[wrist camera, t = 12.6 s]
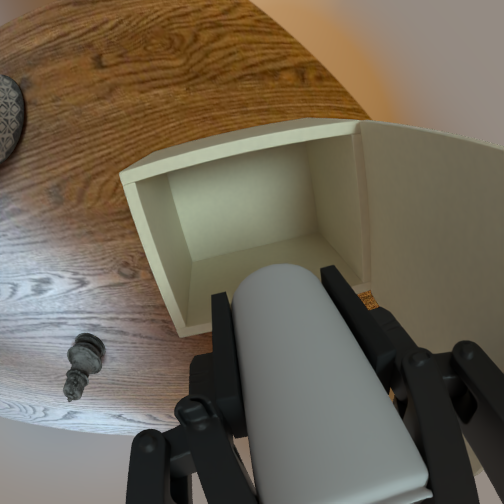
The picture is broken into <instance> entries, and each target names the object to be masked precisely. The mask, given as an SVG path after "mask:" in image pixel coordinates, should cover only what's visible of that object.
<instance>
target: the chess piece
mask: <svg viewBox="0 0 504 504" xmlns="http://www.w3.org/2000/svg"><path fill="white" fill-rule="evenodd" d="M75 343H76V344H75V345H74V346H73V347H71V348H70V349H69V350H68V352H67V357H68V360H69V361H70V363H71V364H72V367H71V369H70V370H68V371H67V373H66V374H67V380H66V383H65V385H64V388H63V392H64V394H65V396H66V397H68V402H71V401H72V400H78V399H80V398H81V396H82V393H83V390H84V387H85V386H87V385H88V383H89V380H88V377H89V374H95V373H98V372H99V371H100V370H101V368H102V362H101V357H102V356H103V355H104V353H105V346H104V344H103V342H102V341H101V340H100V339H99V338H97V337H96V336H94V335H92V334H88V333H82V334H79V335H78V336H77V337H76V340H75Z"/></svg>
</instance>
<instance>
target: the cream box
mask: <svg viewBox="0 0 504 504" xmlns="http://www.w3.org/2000/svg"><path fill="white" fill-rule="evenodd" d="M119 175H120V179H121V182H122V185H123V189H124V192H125V195H126V198H127V201H128V204H129V207H130V211H131V214H132V217H133V220H134V222H135V225H136V228H137V231H138V234H139V237H140V240H141V243H142V245H143V248H144V251H145V254H146V256H147V259H148V262H149V264H150V267H151V270H152V272H153V275H154V277H155V280H156V282H157V285H158V287H159V290H160V292H161V295H162V297H163V300H164V302H165V305H166V307H167V309H168V312H169V314H170V316H171V319H172V321H173V323H174V326H175V328H176V331H177V333H178V335H179V337H180V338H181V337H186V336H191V335H196V334H201V333H206V332H211V331H212V313H211V295H213V294H217V293H221V292H225V291H226V293H227V297H228V300H229V303H230V307H231V303H232V299H233V295H234V293H235V291H236V289H237V288H238V286H239V284H240V283H241V282H242V281H243V280H244V279H245V278H246V277H247V276H249V275H250V274H251V273H253V272H255V271H257V270H258V269H260V268H263V267H266V266H269V265H273V264H283V263H289V264H294V265H299V266H301V267H303V268H305V269H307V270H310V271H311V272H312V273H313V274H314V275H315V276H316V277H317V278H318V279H319V280H320V282H321V273H320V268H323V267H326V266H330V265H335V267H336V268H337V269H338V270H339V272H340V273H341V274H342V276H343V277H344V278H345V280H346V281H347V282H348V284H349V285H350V286H351V288H352V289H353V290H354V292H355V293H356V294H359V293H362V292H366V291H369V290H371V245H370V222H369V205H368V192H367V180H366V170H365V160H364V152H363V144H362V136H361V129H360V120H350V119H330V118H302V119H296V120H289V121H283V122H278V123H272V124H267V125H261V126H256V127H251V128H246V129H242V130H237V131H232V132H228V133H223V134H219V135H215V136H211V137H207V138H203V139H199V140H195V141H191V142H187V143H183V144H180V145H176V146H172V147H169V148H165V149H162V150H159V151H155V152H153V153H151V154H150V155H148V156H146V157H144V158H143V159H141V160H139V161H138V162H136V163H134V164H133V165H131V166H129V167H128V168H126V169H125V170H123V171H121V172H120V173H119ZM321 284H322V283H321Z"/></svg>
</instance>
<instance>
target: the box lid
mask: <svg viewBox="0 0 504 504" xmlns="http://www.w3.org/2000/svg"><path fill="white" fill-rule="evenodd" d="M360 129H361V136H362V144H363V152H364V160H365V170H366V180H367V192H368V205H369V222H370V245H371V294H372V295H373V297H374V298H375V300H376V302H377V303H378V305H379V306H380V307H383V308H385V309H386V310H388V311H390V312H391V313H392V314H393V316H394V317H395V318H396V320H397V321H398V322H399V323H400V324H401V326H402V327H403V328H404V329H405V331H406V332H407V333H408V334H409V336H410V337H411V338H412V340H413V341H414V342H415V343H416V345H417V346H418V347H421V348H425V349H427V350H429V351H430V352H431V353H433V354H436V353H444V352H451V351H452V349H453V347H454V345H455V344H456V343H458V342H459V341H463V340H469V341H472V342H475V343H476V344H477V345H479V346H480V347H481V348H482V350H483V351H484V352H485V353H486V354H487V355H488V356H489V357H490V359H491V360H492V361H493V362H494V363H495V364H496V365H497V367H498V368H499V369H500V370H501V371H502V372H503V374H504V146H501V145H497V144H494V143H490V142H486V141H482V140H478V139H474V138H470V137H466V136H462V135H457V134H453V133H448V132H443V131H438V130H433V129H427V128H421V127H415V126H409V125H403V124H396V123H389V122H380V121H373V120H363V121H360ZM462 435H463V434H462ZM463 438H464V442H465V445H466V449H467V452H468V456H469V459H470V463H471V467H472V471H473V475H474V476H476V475H477V474H479V473H481V472H482V471H483V470H484V469H483V467H482V465H481V464H480V462H479V460H478V458H477V457H476V455H475V453H474V452H473V450H472V448H471V447H470V445H469V443H468V442H467V440H466V439H465V437H464V435H463Z"/></svg>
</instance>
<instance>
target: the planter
mask: <svg viewBox="0 0 504 504" xmlns="http://www.w3.org/2000/svg"><path fill="white" fill-rule="evenodd" d="M23 120H24V103H23V97H22V94H21V91H20V89H19V87H18V85H17V84H16V82H15V81H14V80H13V79H11V78H10V77H8V76H5V75H0V164H1V163H2V162H3V161H5V160H6V159H7V158H8V157H9V155H10V154H11V153H12V151H13V150H14V148H15V146H16V144H17V142H18V140H19V137H20V134H21V131H22V126H23Z"/></svg>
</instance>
